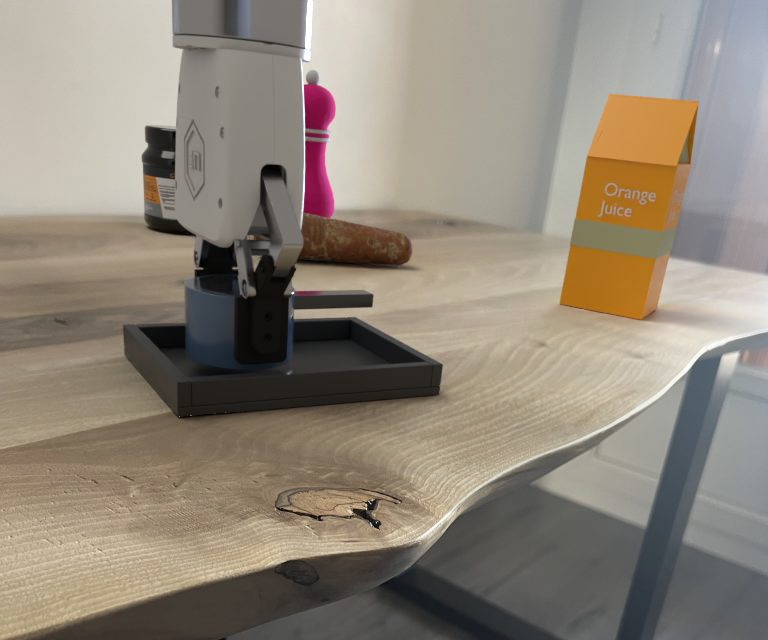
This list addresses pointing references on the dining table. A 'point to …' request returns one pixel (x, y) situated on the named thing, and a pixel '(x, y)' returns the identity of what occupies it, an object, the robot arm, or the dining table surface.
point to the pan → (217, 314)
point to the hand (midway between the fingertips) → (238, 343)
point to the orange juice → (629, 205)
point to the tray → (284, 369)
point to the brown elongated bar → (351, 242)
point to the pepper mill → (317, 146)
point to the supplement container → (160, 179)
